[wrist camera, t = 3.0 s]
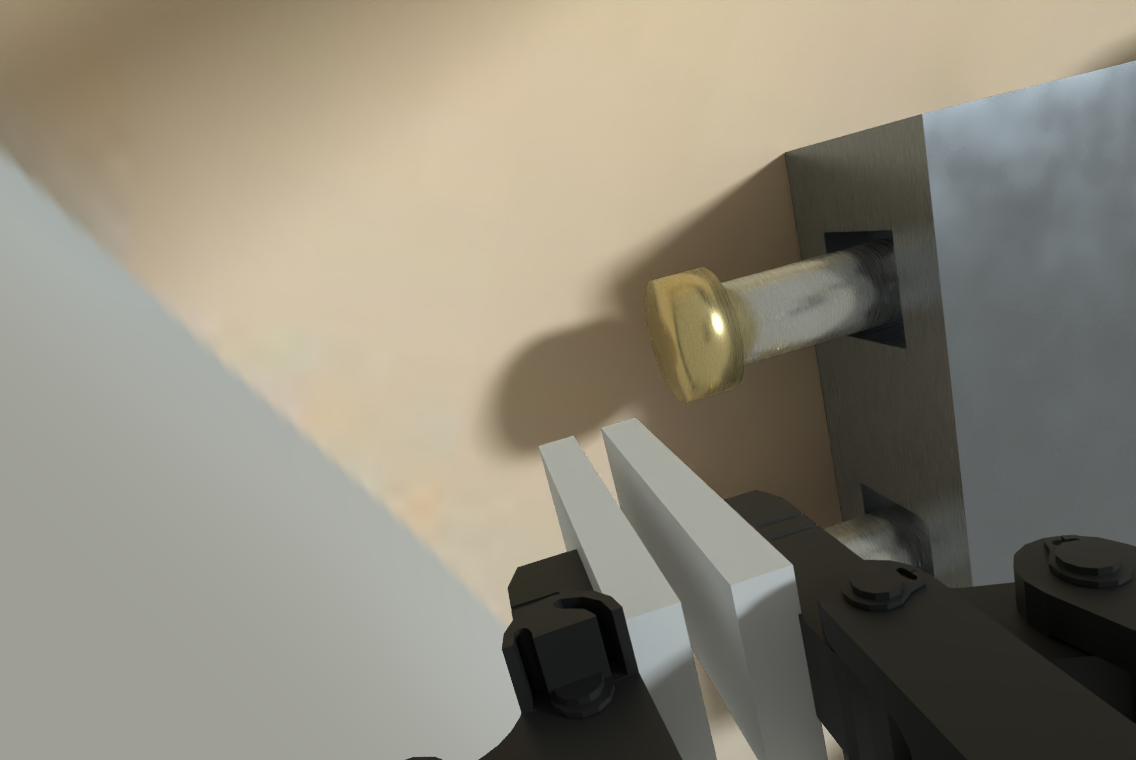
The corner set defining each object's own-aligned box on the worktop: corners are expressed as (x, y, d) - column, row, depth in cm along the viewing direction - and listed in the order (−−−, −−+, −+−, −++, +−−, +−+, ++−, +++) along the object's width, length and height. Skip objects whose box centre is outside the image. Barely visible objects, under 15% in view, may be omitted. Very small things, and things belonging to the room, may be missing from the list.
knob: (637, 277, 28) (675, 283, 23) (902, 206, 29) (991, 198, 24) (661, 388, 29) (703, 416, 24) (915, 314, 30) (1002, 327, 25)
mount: (784, 152, 30) (922, 113, 21) (979, 103, 31) (1185, 47, 22) (856, 607, 35) (987, 724, 27) (1018, 551, 37) (1195, 646, 28)
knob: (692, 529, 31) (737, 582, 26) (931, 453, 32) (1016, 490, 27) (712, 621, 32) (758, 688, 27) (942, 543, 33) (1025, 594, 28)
